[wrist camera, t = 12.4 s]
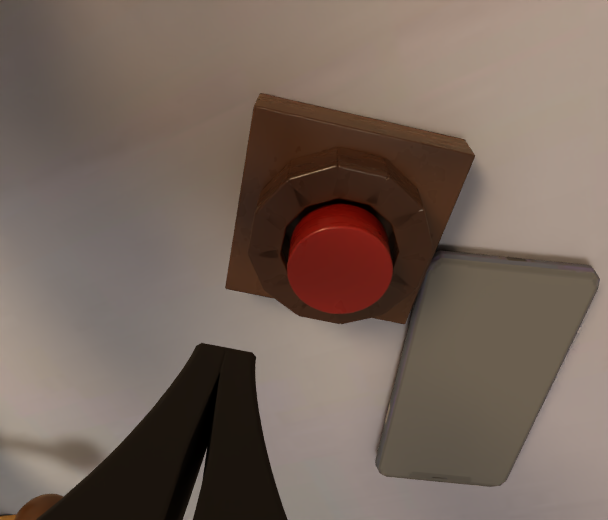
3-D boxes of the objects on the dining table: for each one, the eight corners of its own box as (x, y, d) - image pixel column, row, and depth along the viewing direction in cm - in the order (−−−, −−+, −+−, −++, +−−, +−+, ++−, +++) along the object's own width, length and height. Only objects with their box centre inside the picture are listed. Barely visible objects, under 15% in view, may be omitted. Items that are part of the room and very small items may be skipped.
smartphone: (609, 273, 21) (504, 490, 29) (599, 260, 22) (499, 475, 30) (429, 255, 21) (373, 478, 29) (425, 243, 22) (371, 463, 30)
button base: (259, 92, 19) (246, 121, 16) (465, 139, 19) (489, 175, 16) (231, 267, 23) (216, 315, 20) (400, 301, 24) (410, 353, 21)
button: (301, 192, 18) (298, 216, 16) (401, 214, 18) (407, 239, 16) (282, 276, 19) (277, 303, 18) (372, 294, 20) (375, 323, 18)
